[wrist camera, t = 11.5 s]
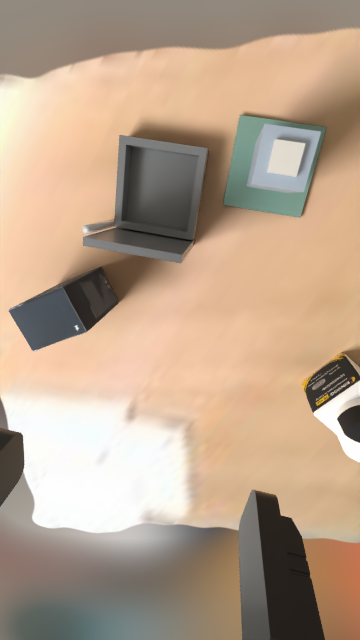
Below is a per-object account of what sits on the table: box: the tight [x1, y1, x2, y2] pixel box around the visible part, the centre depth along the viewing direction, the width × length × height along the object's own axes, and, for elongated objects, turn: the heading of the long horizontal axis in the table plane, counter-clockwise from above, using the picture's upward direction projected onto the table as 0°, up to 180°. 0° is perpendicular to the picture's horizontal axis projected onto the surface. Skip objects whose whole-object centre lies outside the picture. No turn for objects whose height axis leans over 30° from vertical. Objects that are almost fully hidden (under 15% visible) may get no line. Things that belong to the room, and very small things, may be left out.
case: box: [82, 135, 209, 263], centre depth 32 cm, size 11×11×11 cm
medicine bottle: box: [302, 353, 360, 462], centre depth 37 cm, size 7×7×12 cm
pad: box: [223, 115, 326, 217], centre depth 34 cm, size 9×9×1 cm
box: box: [9, 267, 118, 351], centre depth 38 cm, size 8×6×11 cm
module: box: [246, 124, 321, 193], centre depth 29 cm, size 4×4×10 cm
